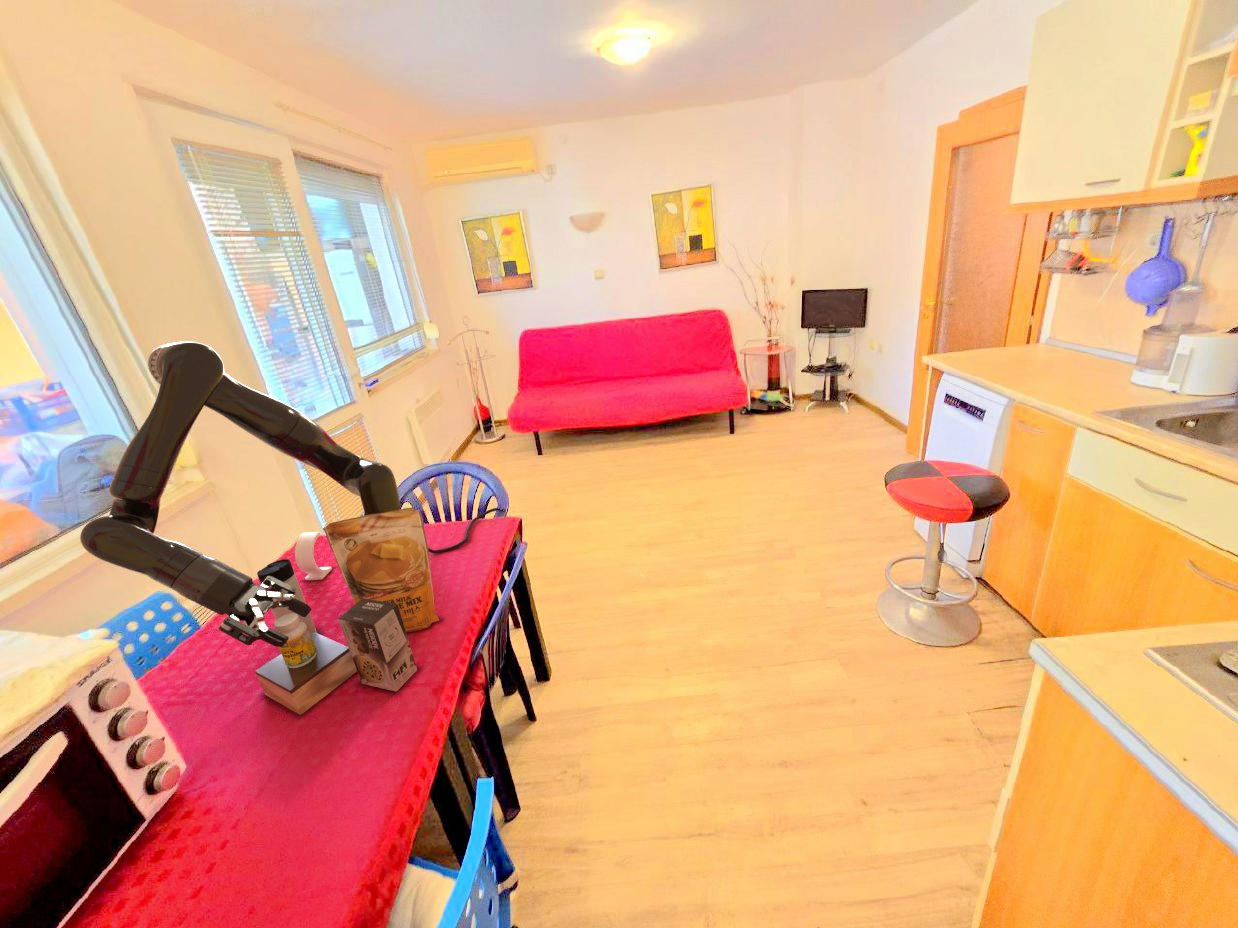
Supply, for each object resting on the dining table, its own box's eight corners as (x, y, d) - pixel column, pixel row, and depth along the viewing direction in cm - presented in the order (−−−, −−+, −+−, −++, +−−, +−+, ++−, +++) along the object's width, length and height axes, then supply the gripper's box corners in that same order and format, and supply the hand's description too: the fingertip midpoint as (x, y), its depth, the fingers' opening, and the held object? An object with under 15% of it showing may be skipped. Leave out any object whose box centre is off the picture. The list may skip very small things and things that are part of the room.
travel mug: (304, 650, 110) (274, 573, 103) (279, 648, 112) (247, 572, 104) (325, 631, 116) (297, 557, 108) (301, 629, 117) (272, 555, 110)
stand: (322, 654, 109) (314, 631, 106) (358, 670, 103) (349, 647, 101) (265, 694, 99) (254, 670, 97) (300, 715, 93) (290, 690, 91)
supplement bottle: (321, 646, 102) (306, 607, 98) (312, 665, 97) (296, 625, 93) (292, 652, 101) (276, 613, 97) (281, 672, 96) (264, 631, 92)
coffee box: (418, 668, 102) (399, 603, 96) (396, 693, 96) (374, 625, 91) (383, 660, 105) (362, 596, 99) (359, 683, 100) (336, 617, 94)
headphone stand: (332, 569, 142) (319, 531, 137) (319, 581, 136) (306, 543, 132) (316, 569, 142) (303, 532, 137) (303, 582, 136) (289, 544, 132)
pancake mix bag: (362, 624, 117) (326, 517, 107) (447, 608, 120) (420, 503, 110) (354, 644, 111) (316, 532, 101) (443, 626, 114) (415, 516, 104)
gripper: (195, 593, 84) (287, 640, 89) (246, 549, 97) (325, 591, 102) (175, 623, 86) (267, 667, 90) (228, 576, 99) (306, 616, 104)
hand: (297, 627), depth 96 cm, fingers open, 8 cm apart
